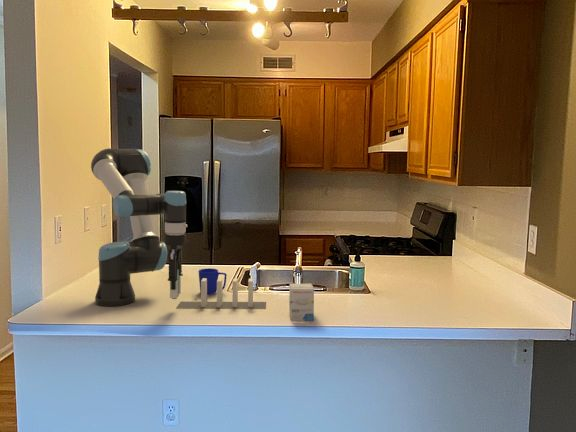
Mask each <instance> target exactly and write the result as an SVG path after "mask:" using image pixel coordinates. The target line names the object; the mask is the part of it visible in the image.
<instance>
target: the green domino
mask: <svg viewBox="0 0 576 432" xmlns="http://www.w3.org/2000/svg"><path fill="white" fill-rule="evenodd" d="M177 280H178V297H179V295H180V294H179V269H177ZM177 299H178V298H171V300H177Z"/></svg>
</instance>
